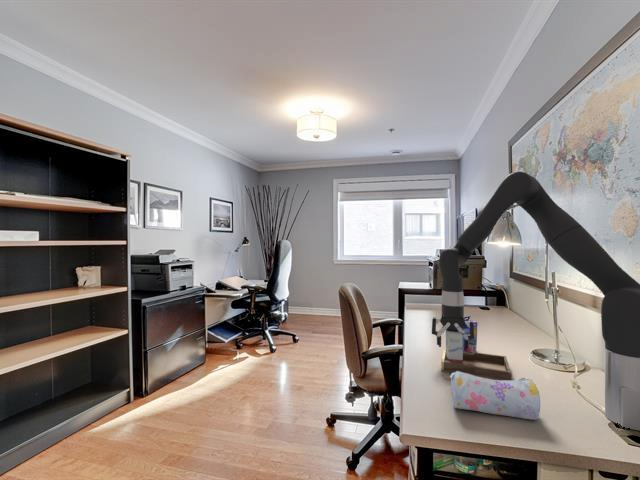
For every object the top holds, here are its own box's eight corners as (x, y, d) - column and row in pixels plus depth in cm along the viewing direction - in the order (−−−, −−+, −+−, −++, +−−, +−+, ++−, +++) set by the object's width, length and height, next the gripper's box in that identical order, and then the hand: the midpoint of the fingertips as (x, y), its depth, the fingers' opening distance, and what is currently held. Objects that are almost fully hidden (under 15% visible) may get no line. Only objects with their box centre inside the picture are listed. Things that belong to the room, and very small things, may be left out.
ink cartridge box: (461, 355, 129) (461, 318, 129) (449, 351, 134) (449, 315, 134) (478, 351, 133) (478, 315, 133) (466, 347, 138) (466, 313, 138)
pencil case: (531, 409, 87) (531, 374, 88) (545, 427, 79) (545, 388, 79) (448, 399, 93) (448, 366, 93) (452, 415, 84) (452, 378, 84)
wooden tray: (511, 382, 104) (511, 372, 104) (441, 371, 113) (441, 362, 113) (505, 364, 119) (505, 356, 119) (444, 356, 127) (444, 348, 127)
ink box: (463, 368, 114) (463, 334, 114) (448, 367, 115) (448, 333, 115) (459, 359, 122) (459, 328, 122) (445, 358, 123) (445, 327, 123)
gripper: (430, 303, 118) (430, 348, 118) (474, 306, 112) (474, 354, 112) (432, 300, 125) (432, 342, 125) (474, 303, 119) (473, 347, 119)
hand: (452, 348), depth 119 cm, fingers open, 8 cm apart
